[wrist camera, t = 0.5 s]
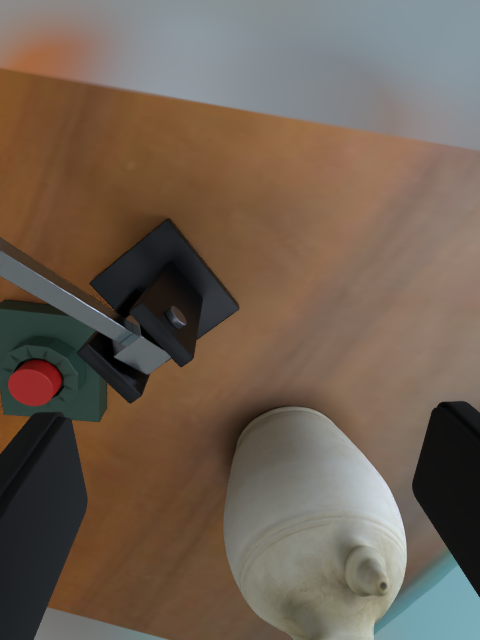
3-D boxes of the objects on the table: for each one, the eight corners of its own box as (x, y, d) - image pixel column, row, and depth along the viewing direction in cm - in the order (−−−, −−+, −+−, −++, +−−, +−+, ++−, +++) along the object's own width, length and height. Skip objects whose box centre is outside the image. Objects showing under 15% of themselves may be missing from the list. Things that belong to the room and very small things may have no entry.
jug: (302, 515, 42) (403, 912, 19) (197, 467, 39) (161, 888, 15) (382, 431, 38) (637, 807, 15) (273, 368, 34) (385, 739, 11)
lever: (-125, 196, 13) (-166, 237, 11) (-73, 141, 12) (-105, 172, 10) (136, 348, 23) (142, 385, 21) (171, 321, 22) (181, 356, 20)
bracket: (93, 279, 30) (10, 337, 18) (169, 217, 29) (132, 235, 17) (167, 357, 33) (137, 449, 21) (239, 305, 32) (250, 373, 20)
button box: (5, 299, 30) (-25, 314, 27) (107, 311, 31) (91, 327, 27) (16, 401, 34) (-9, 426, 30) (106, 408, 35) (93, 434, 31)
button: (17, 357, 28) (5, 367, 27) (61, 361, 29) (52, 371, 27) (21, 392, 30) (9, 404, 28) (63, 396, 30) (54, 408, 28)
